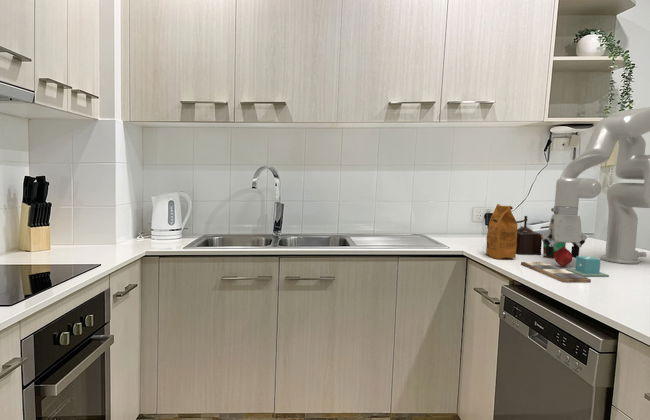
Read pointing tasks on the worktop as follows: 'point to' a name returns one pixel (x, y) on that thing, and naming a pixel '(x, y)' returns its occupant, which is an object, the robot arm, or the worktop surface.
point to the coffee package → (502, 233)
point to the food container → (556, 247)
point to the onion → (563, 256)
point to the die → (587, 265)
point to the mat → (588, 274)
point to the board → (555, 272)
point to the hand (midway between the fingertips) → (562, 257)
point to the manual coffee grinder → (528, 240)
